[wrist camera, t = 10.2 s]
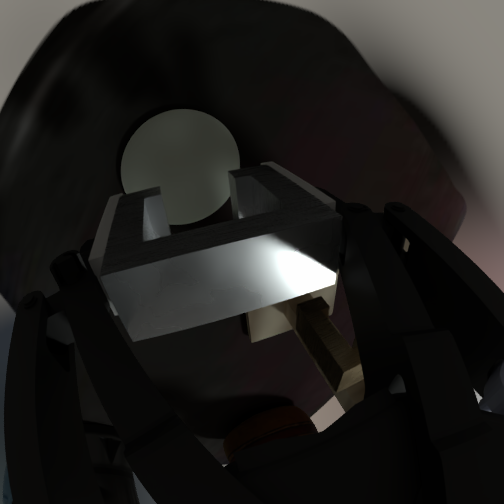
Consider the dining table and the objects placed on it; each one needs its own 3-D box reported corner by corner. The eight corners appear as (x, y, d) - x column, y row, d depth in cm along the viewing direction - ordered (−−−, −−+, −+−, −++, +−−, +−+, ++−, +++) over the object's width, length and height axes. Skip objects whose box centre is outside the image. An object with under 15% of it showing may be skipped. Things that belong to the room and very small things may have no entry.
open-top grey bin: (134, 245, 14) (133, 341, 9) (119, 196, 13) (99, 276, 7) (269, 213, 16) (334, 283, 11) (266, 164, 15) (342, 216, 9)
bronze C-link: (295, 328, 23) (336, 393, 17) (296, 304, 21) (343, 372, 16) (369, 299, 25) (414, 349, 19) (375, 275, 23) (426, 325, 17)
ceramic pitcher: (317, 399, 57) (377, 498, 33) (261, 438, 61) (305, 528, 37) (260, 394, 46) (330, 532, 22) (200, 437, 50) (244, 552, 26)
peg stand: (248, 336, 36) (314, 469, 20) (227, 164, 23) (394, 327, 7) (327, 308, 38) (408, 415, 23) (341, 149, 26) (517, 241, 10)
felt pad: (137, 233, 23) (137, 236, 23) (110, 124, 18) (109, 125, 17) (242, 208, 26) (244, 210, 25) (232, 100, 20) (234, 100, 20)
